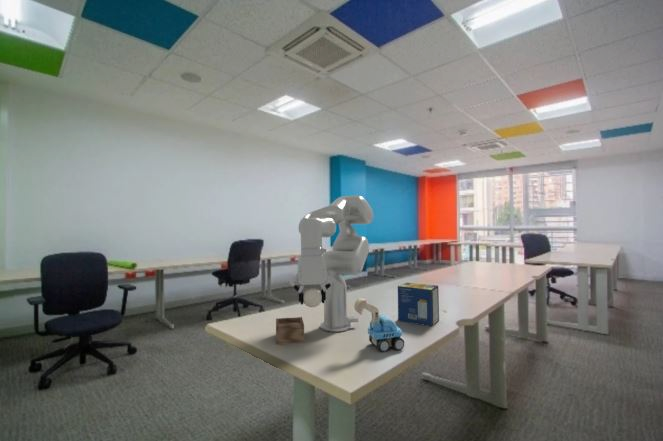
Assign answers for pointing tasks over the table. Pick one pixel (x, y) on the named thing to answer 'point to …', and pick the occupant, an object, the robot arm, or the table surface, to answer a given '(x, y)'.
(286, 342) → the walnut block
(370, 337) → the toy excavator
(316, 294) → the steamed bun
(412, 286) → the protein box
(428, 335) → the table surface
